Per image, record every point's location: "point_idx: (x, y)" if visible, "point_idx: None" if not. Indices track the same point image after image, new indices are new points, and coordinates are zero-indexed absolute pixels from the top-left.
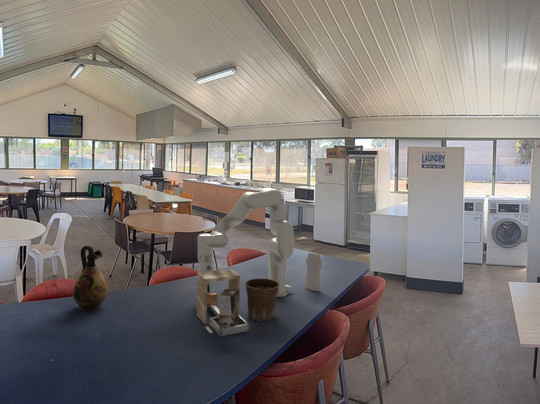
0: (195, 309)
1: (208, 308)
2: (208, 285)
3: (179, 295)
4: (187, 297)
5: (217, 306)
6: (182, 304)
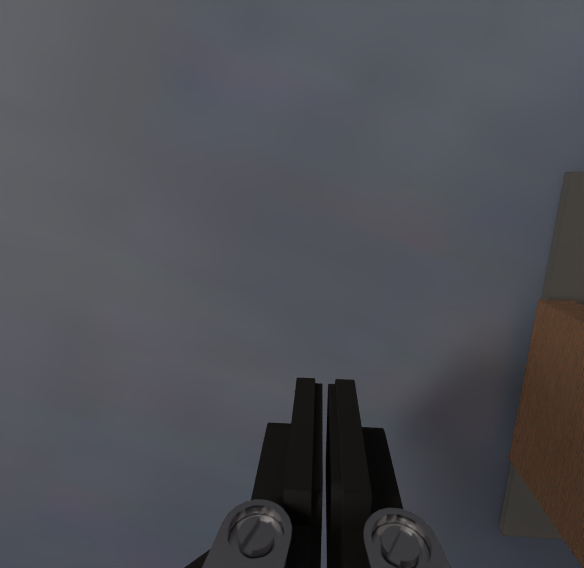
0: (514, 524)
1: None
2: (411, 536)
3: (32, 512)
4: (111, 469)
5: (574, 289)
6: None
